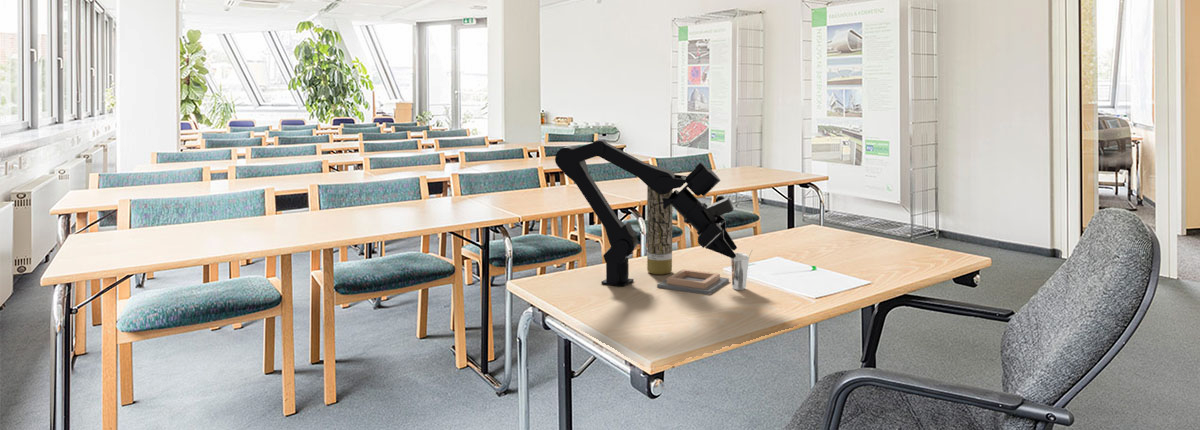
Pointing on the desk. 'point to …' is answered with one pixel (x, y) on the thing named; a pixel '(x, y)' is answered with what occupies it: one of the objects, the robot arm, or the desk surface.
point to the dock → (694, 281)
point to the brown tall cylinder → (658, 234)
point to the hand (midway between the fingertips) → (735, 253)
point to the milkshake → (739, 271)
